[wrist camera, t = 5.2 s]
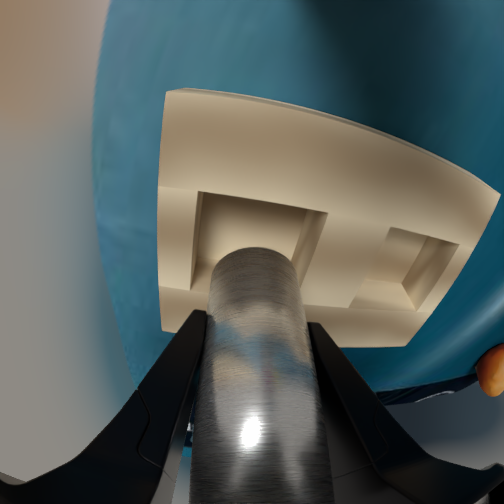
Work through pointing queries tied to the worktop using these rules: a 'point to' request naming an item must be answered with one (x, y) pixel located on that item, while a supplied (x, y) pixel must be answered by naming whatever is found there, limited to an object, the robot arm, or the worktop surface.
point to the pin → (258, 390)
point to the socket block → (312, 212)
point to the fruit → (491, 371)
